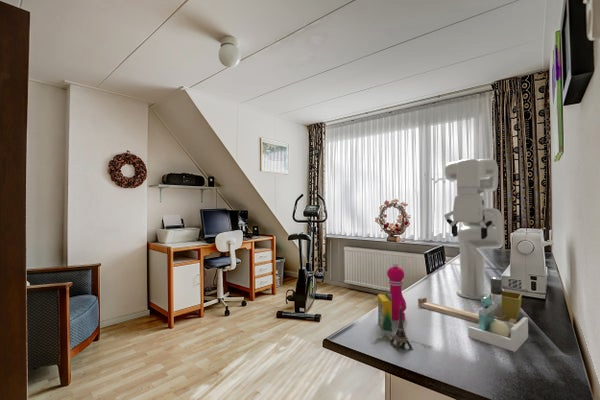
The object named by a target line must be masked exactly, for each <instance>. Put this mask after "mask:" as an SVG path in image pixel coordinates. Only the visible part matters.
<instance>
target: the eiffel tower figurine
mask: <svg viewBox="0 0 600 400" xmlns="http://www.w3.org/2000/svg"><path fill="white" fill-rule="evenodd" d="M399 307H400V312H399V321H398V325H397V329H396V332H395V333H393V334H384V335H381V336H380V337H376V339H375V340H373V341H372V342H371V344H372V345H374V346H375V345H377V344H379V343H380V344H381V343H382V342H388V344H389V345H390V346H391V347H392V348H393V349H394V350H395V351H396V352H399V351H400V352H402V351H414V348H413V346H412V345H411V344H418V345H420V346H422V347H423V348H424V349H429V350H432V349H433V348H434V346H432V345H429V344H425V343H422V342H419V341H415V340H413V339H410V338H408V336H407V334H406V332H405V328H404V324H403V323H404V322H403V321H404V320H402V306H401V305H400V306H399Z"/></svg>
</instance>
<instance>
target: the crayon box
mask: <svg viewBox="0 0 600 400" xmlns="http://www.w3.org/2000/svg"><path fill="white" fill-rule="evenodd" d="M388 295H389V296H390V297H388ZM377 311H378V312H377V313H378V315H377V316H378V318H377V320H378V321H377V322H378V323H379V325H380V327H381V328H382V330H383V331H384V332H393V320H392V295H391V294H390V291H388V290H387V289H385V294H380V293H379V294H377Z"/></svg>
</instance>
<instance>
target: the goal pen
mask: <svg viewBox="0 0 600 400" xmlns="http://www.w3.org/2000/svg"><path fill="white" fill-rule="evenodd" d="M494 321H501V320H497V319H494ZM501 322H504V323H505V324H506V325H507V326H508V328H509V335H510V337H508V336H507V337H504V336H501V335H497V334H494V333H491V331H490V332H487V331H484V330H480V329H479V328H478V327H477V328H476V327H473V326H468V327H467V332H468V333H467V335H468V336H467V337H468V338H470V339H475V340H477V341H480V342H483V343H486V344H488V345H489V344H490V345H493V346H495V347H498V348H502V349H505V350H508V351H511V352H513V353H516V352H517V351H518V350H519V349H520V348H521V346H522V345H523V344H524V343H525V342H526V341H527V340H528V338H529V318H528V317H525V316H523V317H522V318H520V319H519V321H518V322H516V324H512V323H508V321H506V320H505V321H501Z"/></svg>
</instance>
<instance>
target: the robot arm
mask: <svg viewBox="0 0 600 400" xmlns="http://www.w3.org/2000/svg"><path fill="white" fill-rule="evenodd" d="M444 176H445V178H446V180H448V181H456V195H455V197H454V200H453V206H452V207H453V208H452V211H450V212H447V213H445V214H443V217H444V219H445V220H446V222H447V223H448V225H449V226H450V227H451V235H452V237H453V238H455V237H457V241H458V246H459V271H460V274H459V275H460V277H459V279H460V280H459V281H460V289H458V290H456V295H458V296H460V297H462V298H466V299H470V300H478V301H479V300H480V301H481V299H482V298H483V297H488V298H490V295H489V294H488V293H486V289H485V288H486V284H485V281H486V279H485V277H486V276H485V275H486V274H485V258H484V255H483V254H482V253H481V252H480V250H479V249H481V248H482V249H496V250H497V249H501V248H502V247H503V246H504V240H505V239H504V226H503V216H502V213H501V211H500V209H498V208H491V207H489V208H488V207H486V205H485V200H484V195H481V194H482V193H491V192H495V191H496V190H497V189H498V187H499V186H498V185H499V166H498V162H497V161H496V159H493V158H478V159H476V158H466V159H461V160H458V161H451V162H447V164H446V165H445V167H444ZM451 216H452V219H451ZM458 223H462V224H463V226H461V227H460V228H459V229H458Z"/></svg>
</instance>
